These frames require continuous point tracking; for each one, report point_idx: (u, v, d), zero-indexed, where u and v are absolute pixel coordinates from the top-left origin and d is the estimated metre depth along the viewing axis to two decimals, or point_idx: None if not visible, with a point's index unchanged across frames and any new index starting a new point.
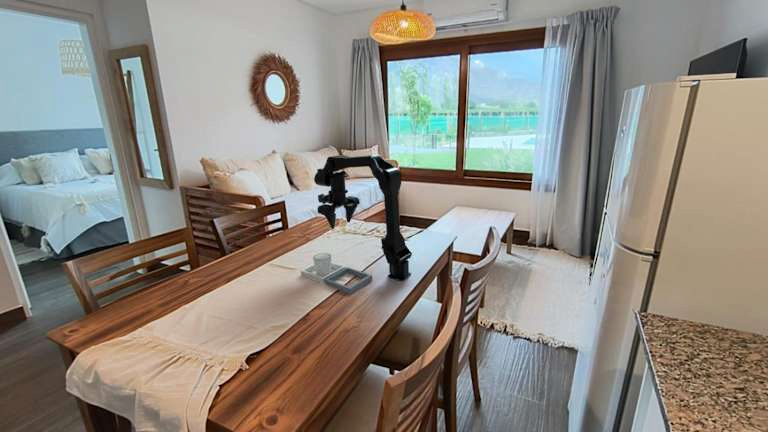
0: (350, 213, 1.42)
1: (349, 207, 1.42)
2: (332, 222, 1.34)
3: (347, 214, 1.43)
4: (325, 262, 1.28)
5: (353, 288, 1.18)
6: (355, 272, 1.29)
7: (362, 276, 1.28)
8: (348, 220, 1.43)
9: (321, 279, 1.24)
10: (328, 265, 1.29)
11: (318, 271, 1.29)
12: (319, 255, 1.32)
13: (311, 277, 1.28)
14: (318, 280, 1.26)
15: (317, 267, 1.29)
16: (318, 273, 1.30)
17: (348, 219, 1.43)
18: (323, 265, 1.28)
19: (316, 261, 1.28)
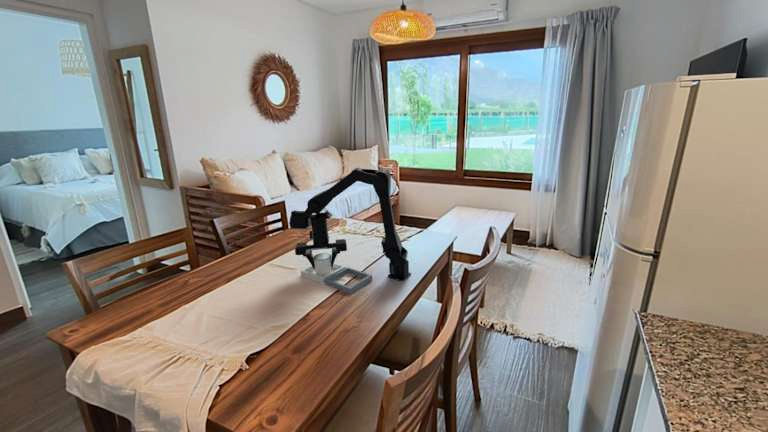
0: (331, 258, 1.30)
1: (332, 251, 1.30)
2: (310, 262, 1.29)
3: (331, 258, 1.31)
4: (325, 262, 1.28)
5: (353, 288, 1.18)
6: (355, 272, 1.29)
7: (362, 276, 1.28)
8: (331, 265, 1.32)
9: (321, 279, 1.24)
10: (328, 265, 1.29)
11: (318, 271, 1.29)
12: (319, 255, 1.32)
13: (311, 277, 1.28)
14: (318, 280, 1.26)
15: (317, 267, 1.29)
16: (318, 273, 1.30)
17: (331, 264, 1.31)
18: (323, 265, 1.28)
19: (316, 261, 1.28)
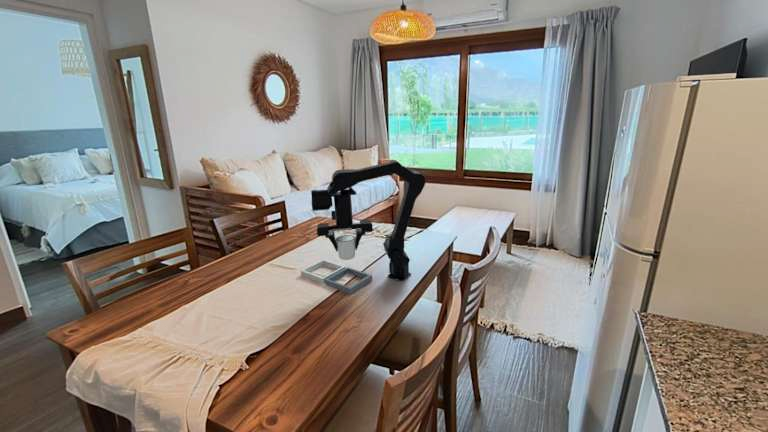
0: (356, 240, 1.20)
1: (356, 233, 1.19)
2: (333, 244, 1.19)
3: None
4: (349, 244, 1.18)
5: (353, 288, 1.18)
6: (355, 272, 1.29)
7: (362, 276, 1.28)
8: (355, 247, 1.21)
9: (321, 279, 1.24)
10: (352, 247, 1.19)
11: (342, 253, 1.19)
12: (342, 237, 1.22)
13: (311, 277, 1.28)
14: (318, 280, 1.26)
15: (340, 249, 1.19)
16: (341, 256, 1.20)
17: (355, 246, 1.21)
18: (347, 247, 1.18)
19: (339, 243, 1.18)
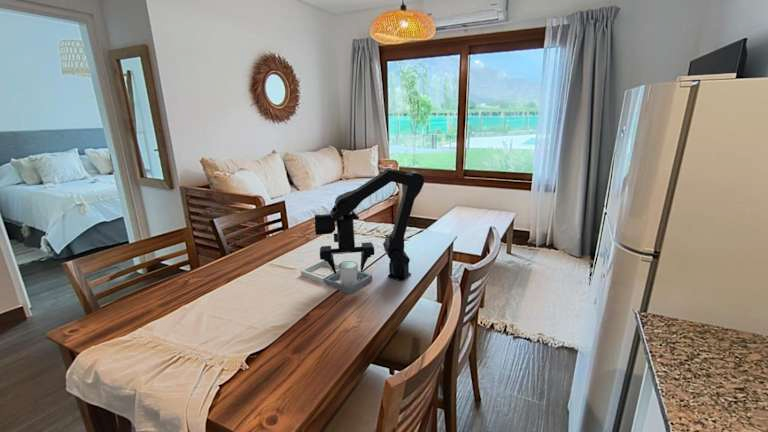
0: (361, 262, 1.22)
1: (361, 255, 1.22)
2: (331, 267, 1.21)
3: None
4: (351, 271, 1.21)
5: (353, 288, 1.18)
6: None
7: (362, 276, 1.28)
8: None
9: (321, 279, 1.24)
10: (354, 274, 1.22)
11: (344, 280, 1.22)
12: (345, 263, 1.24)
13: (311, 277, 1.28)
14: (318, 280, 1.26)
15: (343, 276, 1.21)
16: (344, 282, 1.22)
17: None
18: (349, 274, 1.21)
19: (342, 269, 1.20)
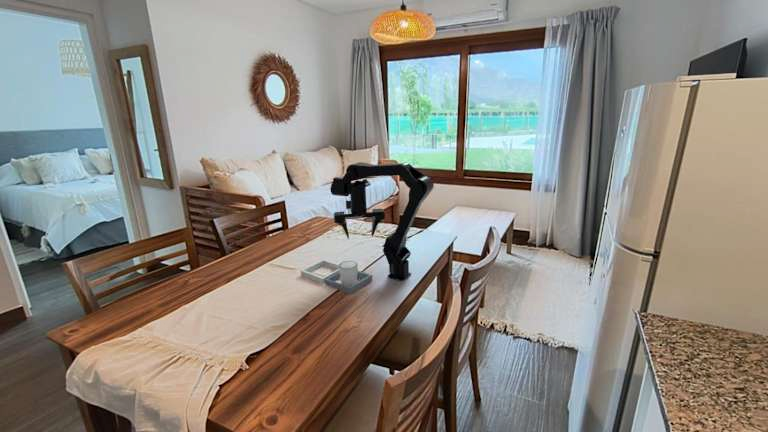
0: (372, 227, 1.30)
1: (373, 220, 1.30)
2: (345, 231, 1.29)
3: (372, 227, 1.32)
4: (351, 271, 1.20)
5: (353, 288, 1.18)
6: None
7: (362, 276, 1.28)
8: None
9: (321, 279, 1.24)
10: (354, 274, 1.22)
11: (344, 280, 1.22)
12: (345, 263, 1.24)
13: (311, 277, 1.28)
14: (318, 280, 1.26)
15: (343, 276, 1.21)
16: (344, 282, 1.22)
17: None
18: (349, 274, 1.21)
19: (342, 270, 1.20)
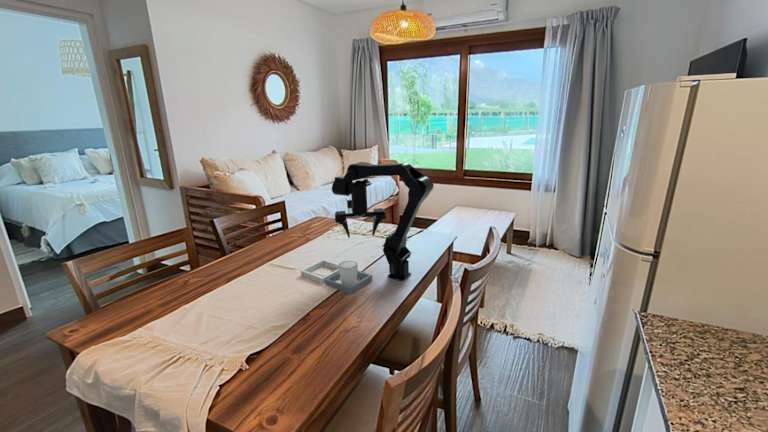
0: (373, 226, 1.30)
1: (374, 220, 1.30)
2: (346, 231, 1.29)
3: None
4: (351, 271, 1.20)
5: (353, 288, 1.18)
6: None
7: (362, 276, 1.28)
8: (372, 233, 1.32)
9: (321, 279, 1.24)
10: (354, 274, 1.22)
11: (344, 280, 1.22)
12: (344, 263, 1.24)
13: (311, 277, 1.28)
14: (318, 280, 1.26)
15: (343, 276, 1.21)
16: (344, 282, 1.22)
17: (372, 232, 1.32)
18: (349, 274, 1.21)
19: (342, 270, 1.20)
